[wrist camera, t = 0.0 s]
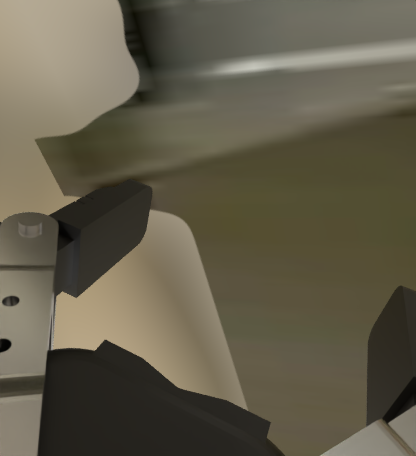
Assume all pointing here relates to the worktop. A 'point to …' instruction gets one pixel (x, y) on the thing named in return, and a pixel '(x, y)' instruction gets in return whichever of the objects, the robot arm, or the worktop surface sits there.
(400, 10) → the worktop surface
